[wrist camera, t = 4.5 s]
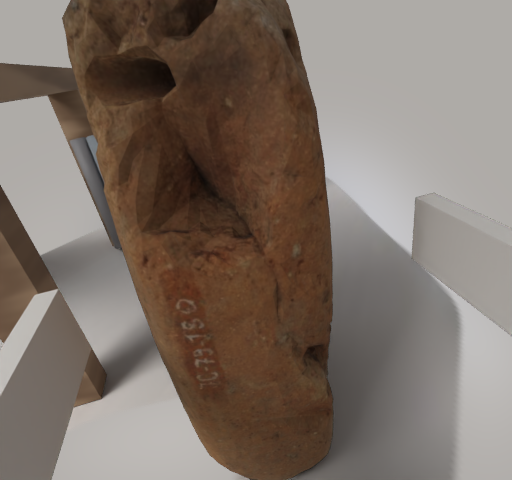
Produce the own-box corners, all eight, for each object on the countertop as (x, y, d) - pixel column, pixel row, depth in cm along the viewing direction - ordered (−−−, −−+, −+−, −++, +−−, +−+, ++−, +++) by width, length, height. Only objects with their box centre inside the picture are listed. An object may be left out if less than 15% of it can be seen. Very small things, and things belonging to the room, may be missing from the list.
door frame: (54, 412, 22) (-195, 71, 12) (117, 231, 46) (52, 73, 37) (101, 398, 22) (-105, 55, 12) (139, 226, 47) (80, 68, 37)
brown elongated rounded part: (207, 342, 25) (104, 29, 15) (305, 321, 25) (263, -1, 16) (204, 516, 15) (-74, -35, 6) (364, 479, 15) (347, -112, 6)
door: (114, 249, 40) (67, 141, 34) (118, 237, 43) (75, 136, 37) (277, 208, 43) (261, 101, 37) (270, 200, 46) (254, 99, 40)
